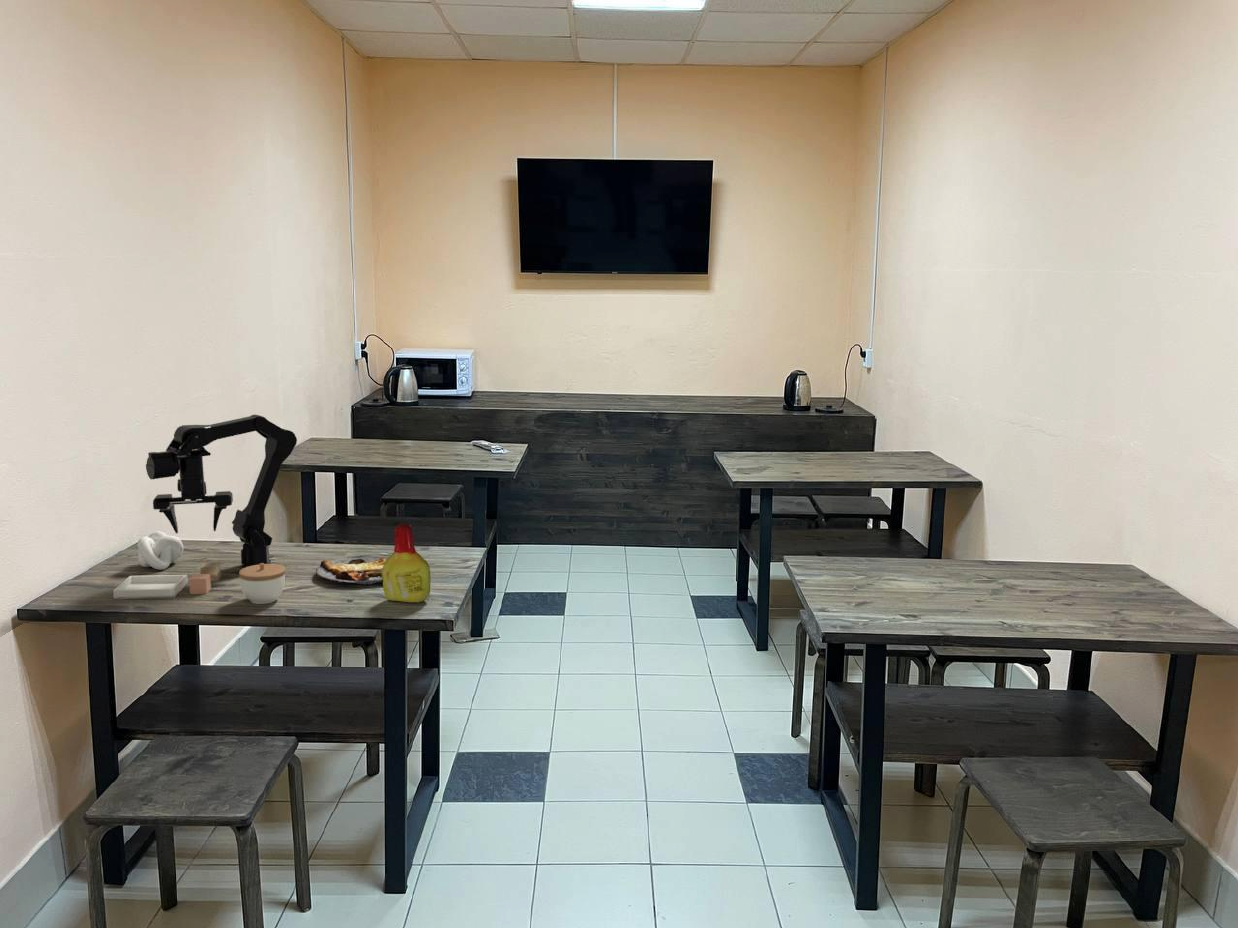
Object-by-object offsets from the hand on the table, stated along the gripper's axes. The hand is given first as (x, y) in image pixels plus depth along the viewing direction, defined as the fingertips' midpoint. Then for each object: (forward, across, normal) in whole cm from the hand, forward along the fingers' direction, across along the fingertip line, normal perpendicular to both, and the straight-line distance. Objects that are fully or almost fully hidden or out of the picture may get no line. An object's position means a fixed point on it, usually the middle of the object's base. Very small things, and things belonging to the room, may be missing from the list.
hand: (195, 531), depth 254 cm
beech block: (+12, -3, +3) cm, 13 cm away
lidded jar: (+12, -17, +24) cm, 32 cm away
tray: (+12, +10, +10) cm, 19 cm away
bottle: (+13, -51, +32) cm, 62 cm away
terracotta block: (+12, -2, +13) cm, 18 cm away
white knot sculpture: (+12, +12, -11) cm, 21 cm away
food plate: (+13, -42, +7) cm, 45 cm away
